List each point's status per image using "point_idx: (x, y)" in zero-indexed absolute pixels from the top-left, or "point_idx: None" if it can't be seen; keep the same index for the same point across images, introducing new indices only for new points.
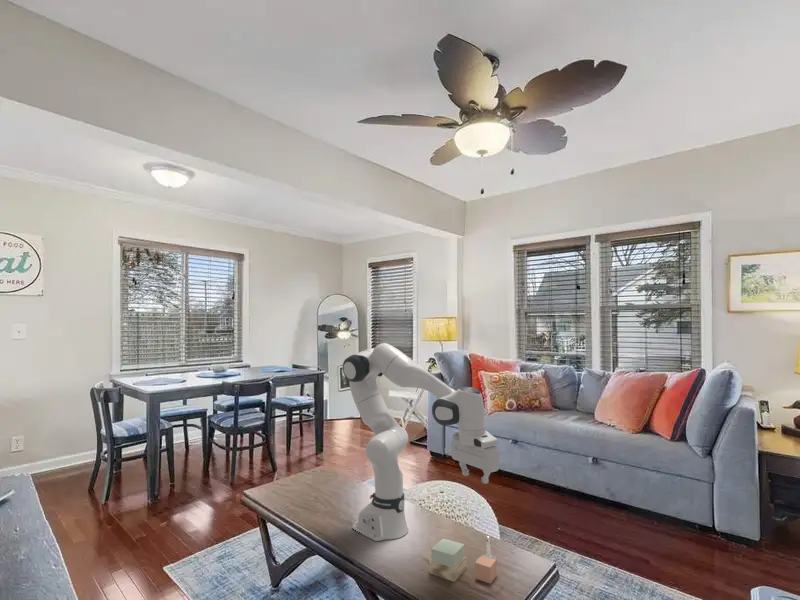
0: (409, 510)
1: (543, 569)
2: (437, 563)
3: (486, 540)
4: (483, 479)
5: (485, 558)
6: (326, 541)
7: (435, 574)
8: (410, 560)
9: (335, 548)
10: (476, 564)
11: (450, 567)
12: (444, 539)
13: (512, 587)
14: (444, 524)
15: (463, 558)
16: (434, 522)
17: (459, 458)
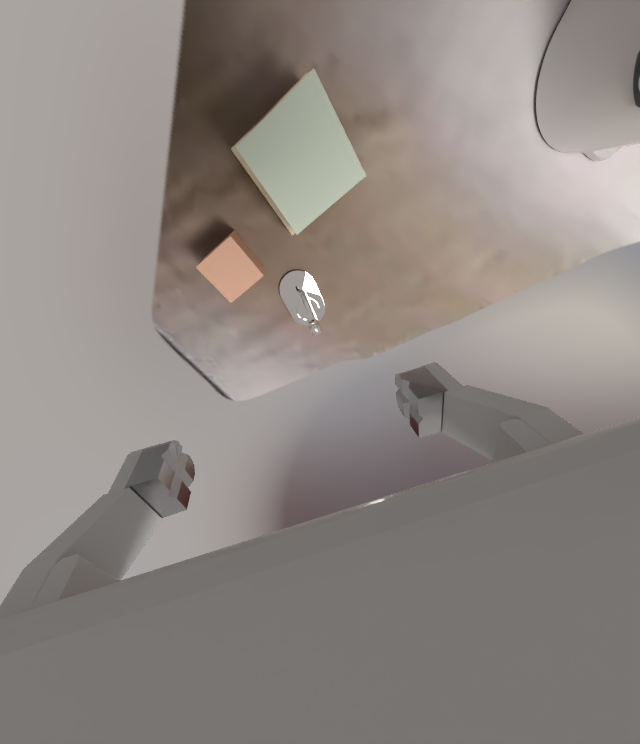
0: (626, 215)
1: (233, 390)
2: None
3: (312, 320)
4: (129, 474)
5: (246, 278)
6: None
7: None
8: (399, 46)
9: None
10: (228, 237)
11: None
12: (355, 176)
13: (179, 300)
14: (495, 279)
15: (285, 220)
16: (522, 257)
17: (618, 484)
